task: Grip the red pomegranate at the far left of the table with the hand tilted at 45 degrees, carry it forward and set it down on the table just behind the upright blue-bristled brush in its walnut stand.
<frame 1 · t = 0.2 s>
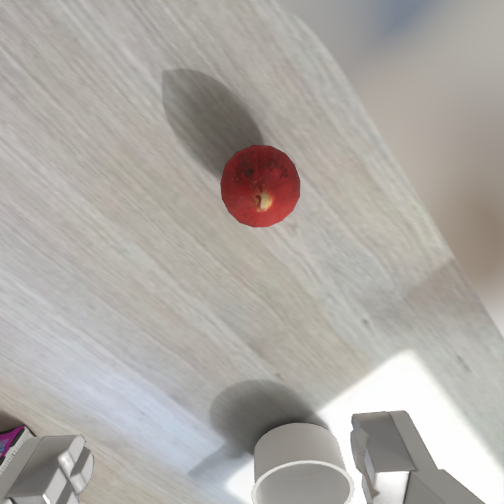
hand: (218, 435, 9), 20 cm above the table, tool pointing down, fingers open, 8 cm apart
red pomegranate: (257, 177, 26), on the table
saucepan: (273, 461, 41), on the table
candy bar box: (2, 446, 38), on the table
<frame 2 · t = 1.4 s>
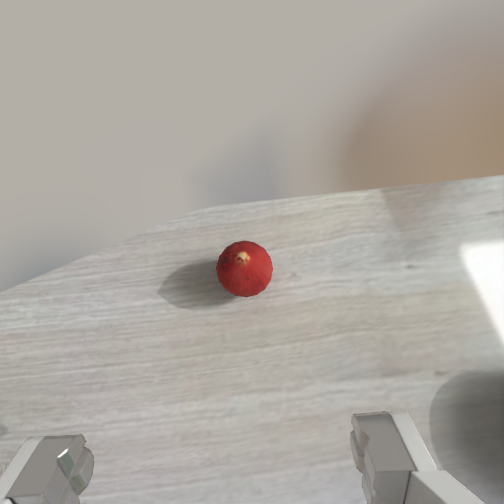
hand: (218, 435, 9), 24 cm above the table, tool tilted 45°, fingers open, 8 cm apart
red pomegranate: (247, 278, 36), on the table
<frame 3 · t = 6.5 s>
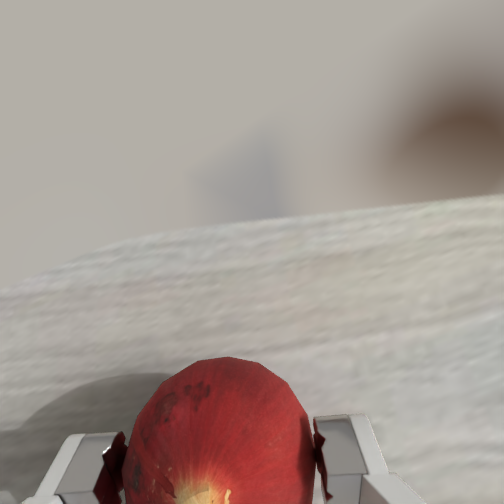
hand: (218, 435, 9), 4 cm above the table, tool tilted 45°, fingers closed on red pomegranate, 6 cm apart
red pomegranate: (237, 428, 13), on the table, touching gripper
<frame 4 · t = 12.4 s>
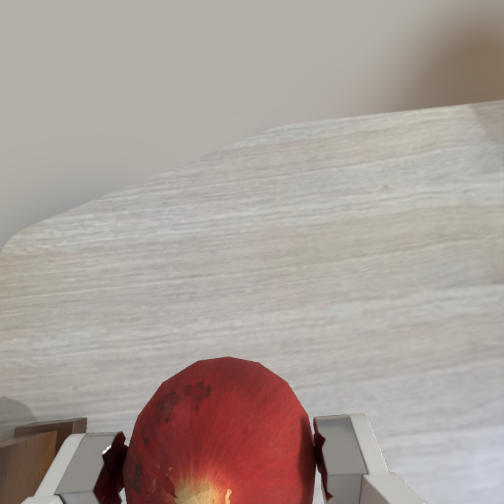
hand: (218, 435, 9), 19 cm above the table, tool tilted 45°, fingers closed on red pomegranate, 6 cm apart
red pomegranate: (237, 428, 13), point 15 cm above the table, touching gripper
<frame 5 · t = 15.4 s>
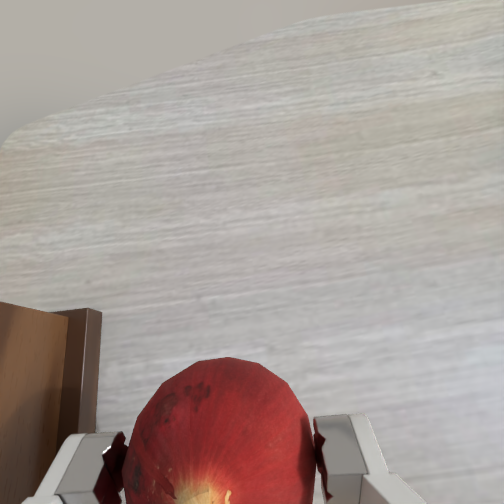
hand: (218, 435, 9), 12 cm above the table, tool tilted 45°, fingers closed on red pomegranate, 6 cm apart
red pomegranate: (237, 428, 13), point 8 cm above the table, touching gripper
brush: (60, 425, 21), on the table
when the fingers open (4 cm above the table, at t = 18.2 s): red pomegranate stays where it is, on the table.
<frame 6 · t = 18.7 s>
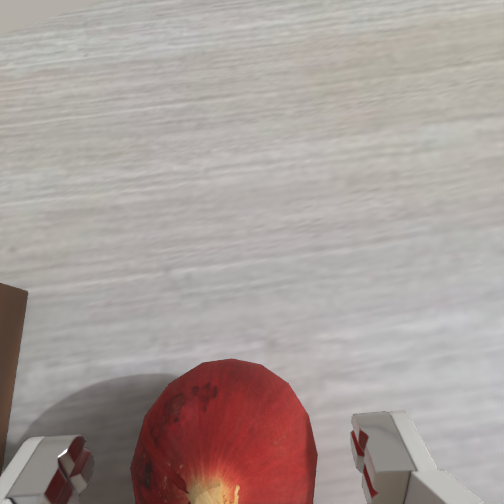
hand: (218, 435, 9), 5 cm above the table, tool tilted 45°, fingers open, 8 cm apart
red pomegranate: (238, 428, 14), on the table
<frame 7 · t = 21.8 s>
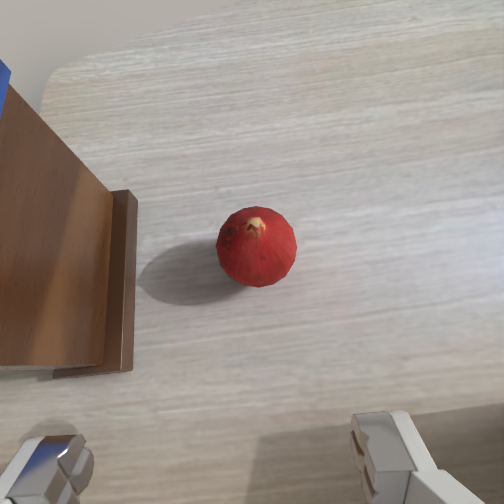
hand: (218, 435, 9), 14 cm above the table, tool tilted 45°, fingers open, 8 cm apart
red pomegranate: (258, 263, 26), on the table
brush: (107, 280, 26), on the table
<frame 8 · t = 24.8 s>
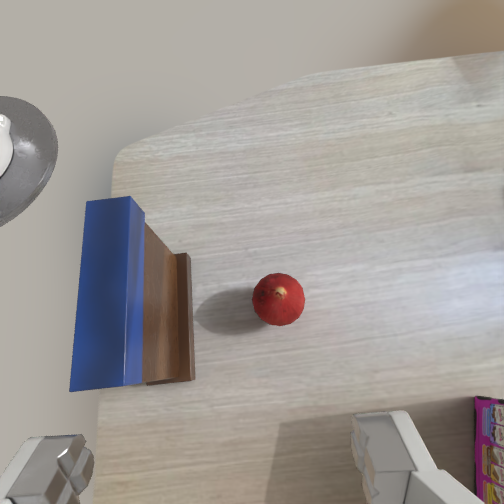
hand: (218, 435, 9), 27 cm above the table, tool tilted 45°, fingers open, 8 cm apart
red pomegranate: (277, 305, 38), on the table
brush: (172, 316, 38), on the table
candy bar box: (497, 457, 32), on the table
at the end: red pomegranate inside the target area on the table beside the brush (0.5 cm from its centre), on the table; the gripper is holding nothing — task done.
